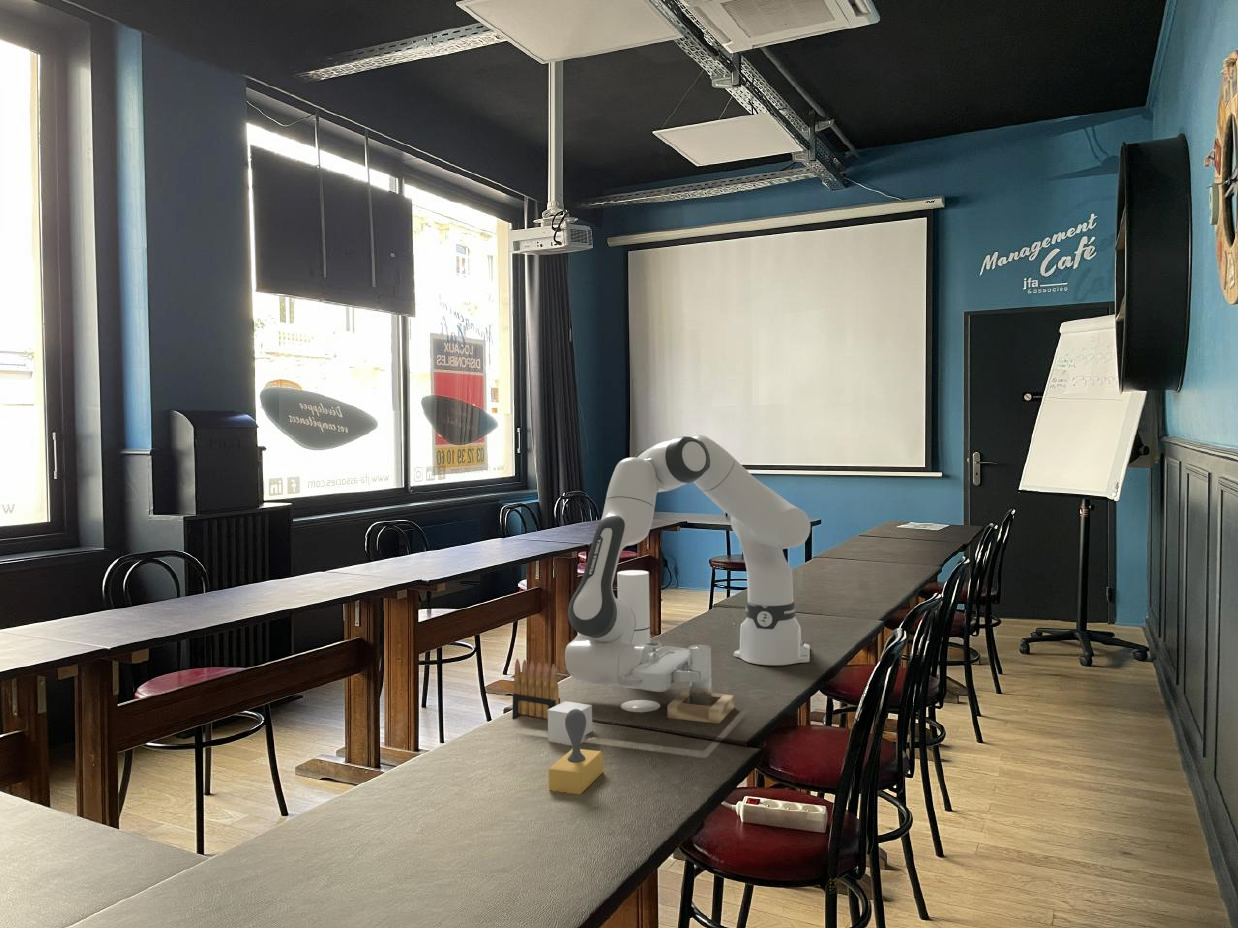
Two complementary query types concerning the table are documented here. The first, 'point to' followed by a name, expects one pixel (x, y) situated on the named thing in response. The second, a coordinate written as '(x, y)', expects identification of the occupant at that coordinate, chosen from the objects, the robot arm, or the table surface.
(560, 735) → the light grey cube
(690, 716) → the beige wooden square frame
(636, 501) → the robot arm
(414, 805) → the table surface
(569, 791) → the rubber stamp
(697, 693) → the clear glass tube
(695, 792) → the table surface
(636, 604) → the cylindrical container
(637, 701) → the stand disc
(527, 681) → the ammunition clip
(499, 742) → the table surface
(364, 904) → the table surface
